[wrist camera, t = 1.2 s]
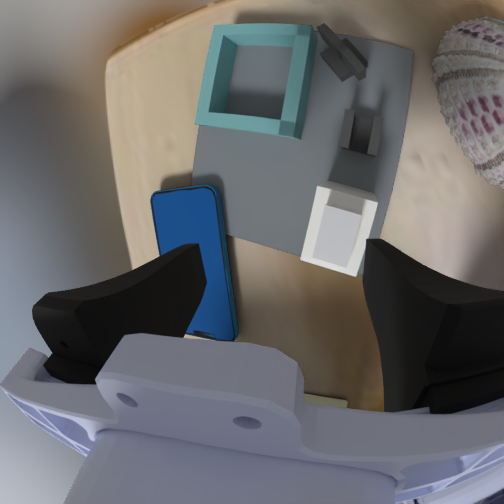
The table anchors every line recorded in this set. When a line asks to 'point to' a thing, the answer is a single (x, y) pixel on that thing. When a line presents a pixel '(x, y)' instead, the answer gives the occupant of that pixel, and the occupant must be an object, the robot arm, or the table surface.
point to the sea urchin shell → (474, 92)
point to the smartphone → (212, 251)
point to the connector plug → (339, 227)
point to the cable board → (297, 125)
